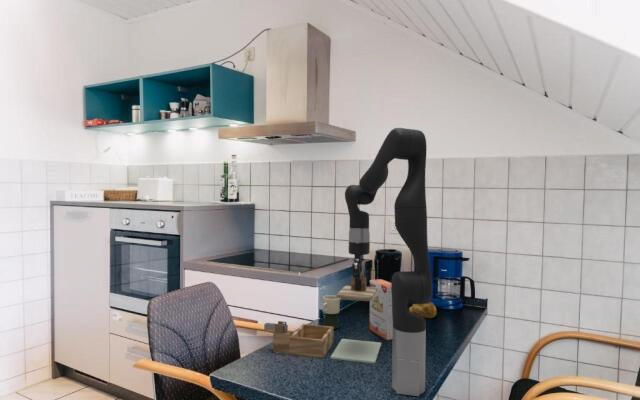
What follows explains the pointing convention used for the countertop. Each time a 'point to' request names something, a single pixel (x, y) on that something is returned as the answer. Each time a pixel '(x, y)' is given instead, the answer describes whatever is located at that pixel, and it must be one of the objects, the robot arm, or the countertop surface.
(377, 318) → the cracker box
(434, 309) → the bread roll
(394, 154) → the robot arm
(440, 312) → the countertop surface
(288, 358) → the countertop surface
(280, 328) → the wooden box
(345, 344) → the mat
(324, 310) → the character mug
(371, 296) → the lid
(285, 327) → the sliding bolt
